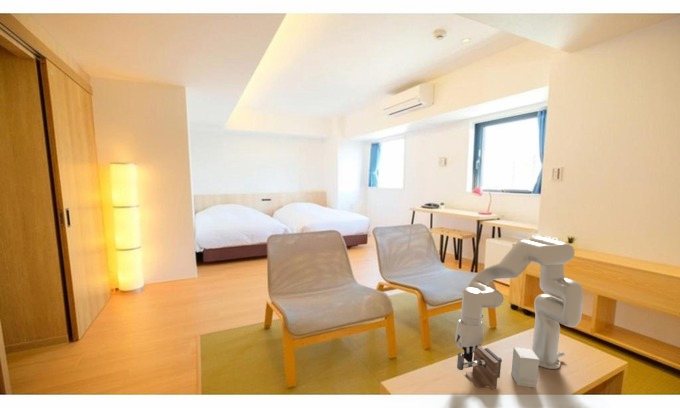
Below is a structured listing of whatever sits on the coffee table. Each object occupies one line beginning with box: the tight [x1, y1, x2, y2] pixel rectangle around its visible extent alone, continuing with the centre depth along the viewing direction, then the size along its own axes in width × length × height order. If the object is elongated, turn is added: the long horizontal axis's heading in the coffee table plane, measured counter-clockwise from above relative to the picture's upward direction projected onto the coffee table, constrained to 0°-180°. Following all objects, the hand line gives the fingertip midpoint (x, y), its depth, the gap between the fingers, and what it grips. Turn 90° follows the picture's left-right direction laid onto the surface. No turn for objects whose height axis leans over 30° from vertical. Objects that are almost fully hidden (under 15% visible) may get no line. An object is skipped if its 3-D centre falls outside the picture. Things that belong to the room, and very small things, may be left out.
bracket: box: [465, 345, 499, 391], centre depth 123 cm, size 7×12×12 cm, turn 12°
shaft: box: [456, 352, 503, 371], centre depth 122 cm, size 20×2×6 cm, turn 102°
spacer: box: [483, 347, 502, 379], centre depth 124 cm, size 2×8×8 cm, turn 12°
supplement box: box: [510, 346, 540, 389], centre depth 123 cm, size 7×7×13 cm
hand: (467, 359), depth 121 cm, fingers closed
